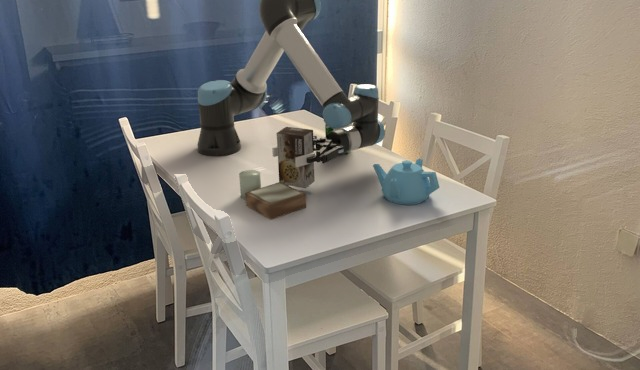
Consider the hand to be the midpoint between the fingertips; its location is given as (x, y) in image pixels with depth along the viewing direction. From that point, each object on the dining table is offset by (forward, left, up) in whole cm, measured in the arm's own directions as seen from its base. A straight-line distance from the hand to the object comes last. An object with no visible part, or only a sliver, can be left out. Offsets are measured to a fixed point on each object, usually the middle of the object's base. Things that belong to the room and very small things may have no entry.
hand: (284, 157), depth 182 cm
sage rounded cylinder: (-5, -9, -11) cm, 15 cm away
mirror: (+6, -8, -11) cm, 15 cm away
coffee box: (0, +4, -9) cm, 10 cm away
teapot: (+25, +24, -12) cm, 37 cm away
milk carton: (-18, +36, -11) cm, 42 cm away
